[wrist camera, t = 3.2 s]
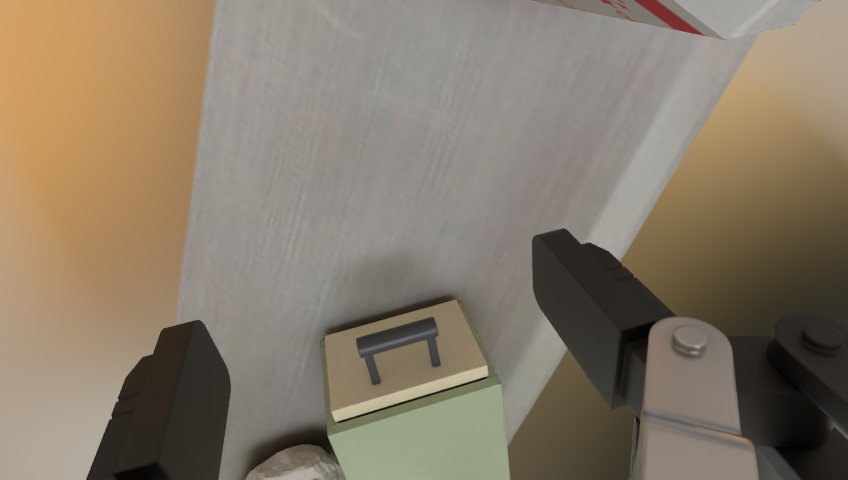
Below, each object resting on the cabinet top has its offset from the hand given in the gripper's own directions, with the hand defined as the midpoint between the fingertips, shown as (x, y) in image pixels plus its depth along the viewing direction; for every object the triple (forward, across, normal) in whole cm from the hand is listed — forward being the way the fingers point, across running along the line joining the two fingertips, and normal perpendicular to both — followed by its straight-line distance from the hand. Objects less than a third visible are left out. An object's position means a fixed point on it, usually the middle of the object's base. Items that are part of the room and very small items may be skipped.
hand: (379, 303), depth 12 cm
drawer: (+21, -1, +24) cm, 32 cm away
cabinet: (+22, -1, +28) cm, 36 cm away
